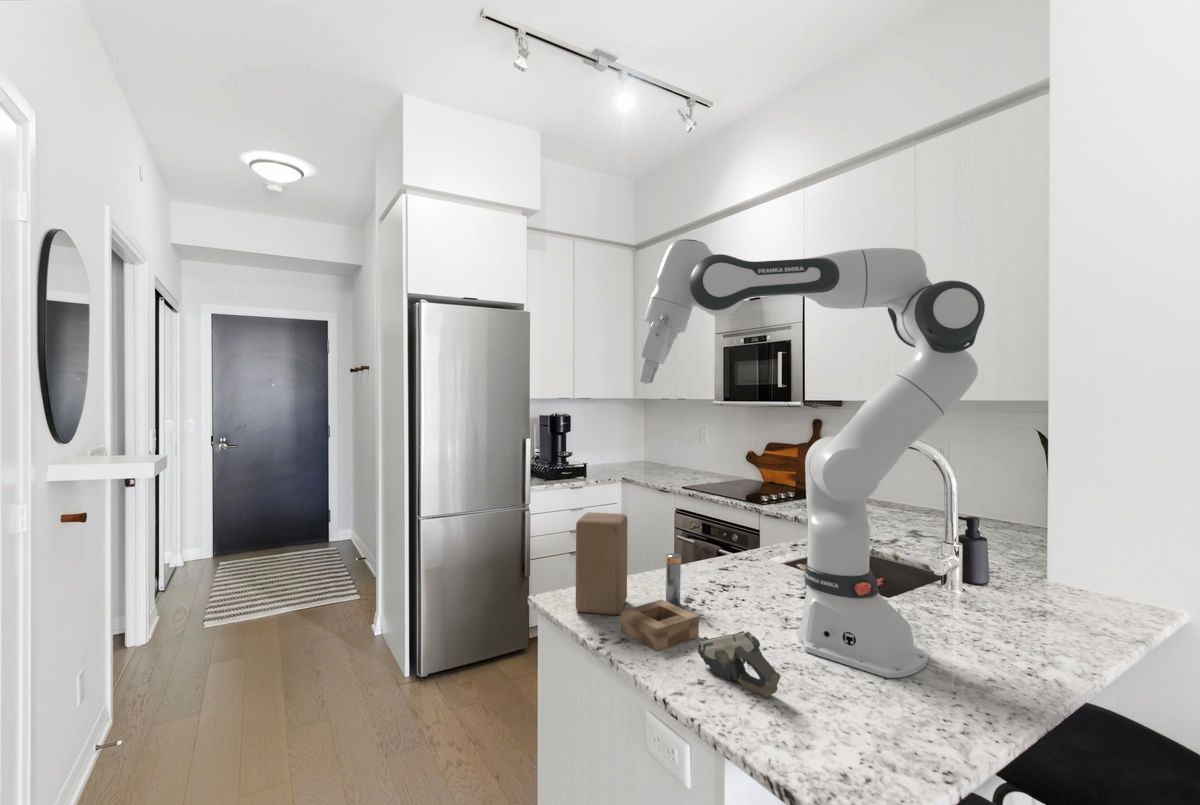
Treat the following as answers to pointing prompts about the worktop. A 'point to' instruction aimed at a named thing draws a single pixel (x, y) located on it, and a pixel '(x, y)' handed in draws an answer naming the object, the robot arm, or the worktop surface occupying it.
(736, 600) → the worktop surface
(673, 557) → the grey metal cylinder
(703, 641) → the futuristic pistol
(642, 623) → the bore block
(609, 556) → the wooden block
